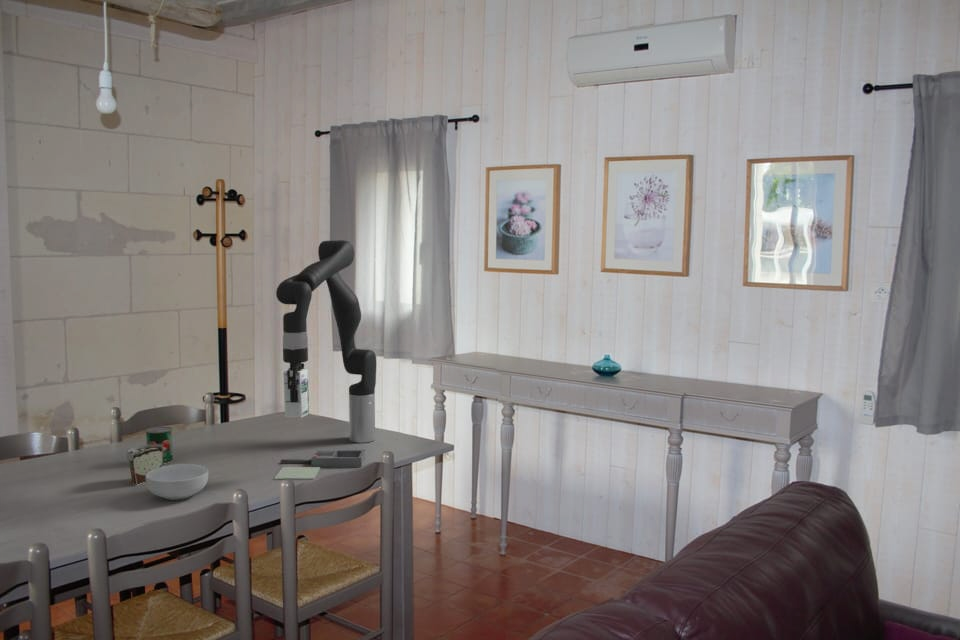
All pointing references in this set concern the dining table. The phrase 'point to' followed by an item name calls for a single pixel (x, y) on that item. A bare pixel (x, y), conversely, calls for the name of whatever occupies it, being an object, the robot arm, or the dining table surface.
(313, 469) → the sage mat
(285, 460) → the rectangular frying pan
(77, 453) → the dining table surface
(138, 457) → the slice of cake
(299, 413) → the syrup box
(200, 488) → the cereal bowl
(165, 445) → the canned tomato
